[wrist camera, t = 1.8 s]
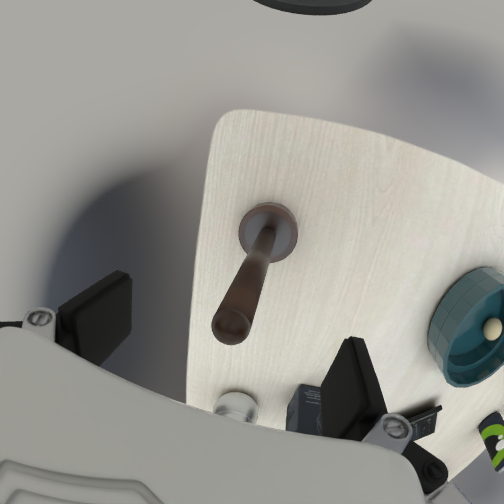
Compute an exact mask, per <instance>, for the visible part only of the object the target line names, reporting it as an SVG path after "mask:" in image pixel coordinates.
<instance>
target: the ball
mask: <svg viewBox="0 0 504 504" xmlns="http://www.w3.org/2000/svg"><path fill="white" fill-rule="evenodd" d="M501 331H502V324H501V321H500V320H499V319H498V318H490V319H488V320H487V321H486V323H485V325H484V328H483V333H484V336H485V337H486V338H487V339H488V340H495V339H497V338H498V337H499V336H500V334H501Z"/></svg>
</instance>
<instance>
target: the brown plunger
mask: <svg viewBox="0 0 504 504" xmlns="http://www.w3.org/2000/svg"><path fill="white" fill-rule="evenodd" d="M297 236H298V233H297V223H296V220H295V218H294V216H293V214H292V213H291V212H290V211H289V210H288V209H287V208H286V207H284V206H283V205H281V204H278V203H273V202H266V203H261V204H259V205H257V206H255V207H254V208H252V209H251V210H250V211H249V212H248V213H247V214H246V215H245V216H244V218H243V219H242V221H241V223H240V226H239V240H240V244H241V246H242V248H243V249H244V251H245V252H246V253H247V256H246V258H245V260H244V262H243V264H242V265H241V267H240V269H239V271H238V273H237V275H236V276H235V278H234V280H233V282H232V284H231V286H230V288H229V289H228V291H227V293H226V295H225V297H224V299H223V300H222V302H221V304H220V306H219V308H218V310H217V312H216V313H215V315H214V317H213V320H212V325H211V326H212V332H213V334H214V336H215V338H216V339H217V340H218V341H220V342H221V343H223V344H226V345H236V344H239V343H241V342H243V341H244V340H245V339H246V338H247V336H248V335H249V332H250V329H251V326H252V322H253V319H254V315H255V312H256V308H257V305H258V301H259V298H260V294H261V290H262V287H263V283H264V279H265V276H266V272H267V269H268V265H269V263H274V262H278V261H280V260H283V259H284V258H286V257H287V256H288V255H289V254H290V253H291V252H292V251H293V249H294V247H295V245H296V243H297Z"/></svg>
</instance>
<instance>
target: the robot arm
mask: <svg viewBox="0 0 504 504" xmlns="http://www.w3.org/2000/svg"><path fill="white" fill-rule="evenodd" d="M131 303H132V279H131V278H130V276H129V274H127V273H124V272H122V271H119V270H116V271H114V272H113V273H111V274H110V275H108V276H106V277H105V278H103V279H102V280H100V281H98V282H97V283H95V284H94V285H92V286H90V287H89V288H87V289H86V290H84V291H83V292H81V293H80V294H78V295H77V296H75V297H74V298H72V299H70V300H69V301H68V302H66V303H64V304H63V305H61V306H60V307H58V311H59V313H57V314H55V313H54V311H52V310H50V309H48V308H43V307H40V308H34V309H32V310H30V311H28V312H27V313H26V314H25V317H24V320H23V321H16V322H0V504H472V503H471V502H470V501H469V500H468V499H467V498H466V497H465V495H464V494H463V493H462V492H461V491H460V490H459V488H458V487H457V486H456V485H455V484H454V483H453V482H452V481H450V482H448V481H447V478H448V470H447V467H446V465H445V464H444V463H443V462H442V461H441V460H440V459H438V458H437V457H435V456H434V455H432V454H431V453H429V452H428V451H426V450H425V449H424V448H422V447H421V446H419V445H418V444H416V443H415V442H414V441H412V440H411V437H412V434H413V429H412V426H411V424H410V422H409V421H408V420H407V419H406V418H405V417H403V416H401V415H399V414H396V413H388V412H387V408H386V405H385V402H384V398H383V395H382V392H381V388H380V385H379V382H378V379H377V376H376V373H375V371H374V368H373V365H372V362H371V359H370V356H369V353H368V350H367V347H366V344H365V342H364V339H362V338H357V337H352V336H350V337H349V338H348V339H344V341H343V343H342V345H341V347H340V349H339V351H338V353H337V355H336V357H335V359H334V361H333V363H332V365H331V367H330V369H329V371H328V373H327V375H326V377H325V379H324V381H323V382H322V384H321V388H320V399H321V418H322V436H315V435H308V434H302V433H296V432H291V431H285V430H280V429H275V428H270V427H265V426H261V425H256V424H252V423H248V422H244V421H240V420H236V419H232V418H229V417H225V416H222V415H218V414H215V413H211V412H208V411H205V410H202V409H199V408H196V407H193V406H190V405H187V404H184V403H181V402H178V401H175V400H173V399H170V398H168V397H165V396H162V395H160V394H157V393H155V392H152V391H150V390H148V389H145V388H143V387H141V386H138V385H136V384H134V383H131V382H129V381H127V380H125V379H123V378H120V377H118V376H116V375H114V374H112V373H110V372H108V371H106V370H104V369H102V368H100V367H99V366H100V365H101V364H102V363H103V362H104V361H105V360H106V359H107V358H108V357H109V356H110V355H111V353H112V352H113V351H114V350H115V349H116V348H117V347H118V346H119V345H120V344H121V343H122V342H123V340H125V339H126V338H127V337H128V335H129V334H130V332H131V311H132V309H131V308H132V304H131Z"/></svg>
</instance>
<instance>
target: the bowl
mask: <svg viewBox="0 0 504 504" xmlns="http://www.w3.org/2000/svg"><path fill="white" fill-rule="evenodd" d="M490 318H498V319H499V320H500V321H501V324H502V331H501V334H500V336H499V337H498V338H497V339H495V340H488V339H487V338H486V337H485V336H484V333H483V328H484V325H485V323H486V321H487V320H488V319H490ZM428 346H429V351H430V353H431V355H432V357H433V358H434V360H435V362H436V364H437V365H438V367H439V369H440V371H441V373H442V374H443V376H444V378H445V380H446V382H447V383H449V384H450V385H452V386H454V387H464V388H466V387H469V386H473V385H476V384H478V383H480V382H482V381H483V380H485V379H487V378H488V377H490V376H491V375H493V374H494V373H495V372H496V371H497V370H498V369H499V368H500V367H502V366H503V365H504V273H502V272H501V271H499V270H497V269H494V268H492V267H484V268H478V269H476V270H474V271H472V272H470V273H468V274H466V275H464V276H463V277H462V278H461V279H460V280H459V281H458V282H457V283H456V284H454V285H453V286H452V287H451V288H450V290H449V291H448V293H447V294H446V295H445V297H444V298H443V299H442V301H441V302H440V304H439V306H438V308H437V310H436V312H435V314H434V316H433V318H432V321H431V325H430V329H429V333H428Z"/></svg>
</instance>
